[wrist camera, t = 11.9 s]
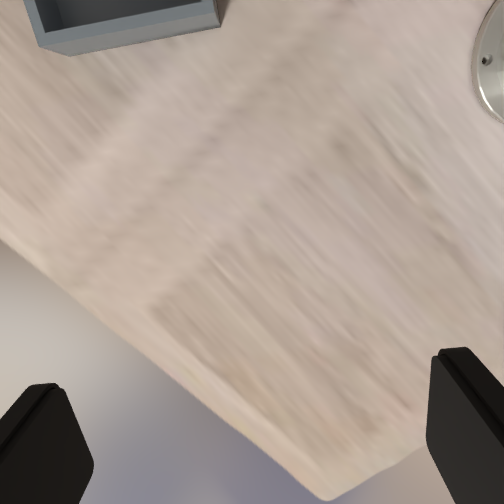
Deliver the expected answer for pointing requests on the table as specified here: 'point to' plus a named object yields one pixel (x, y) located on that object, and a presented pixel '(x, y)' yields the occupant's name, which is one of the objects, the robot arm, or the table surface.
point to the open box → (115, 22)
